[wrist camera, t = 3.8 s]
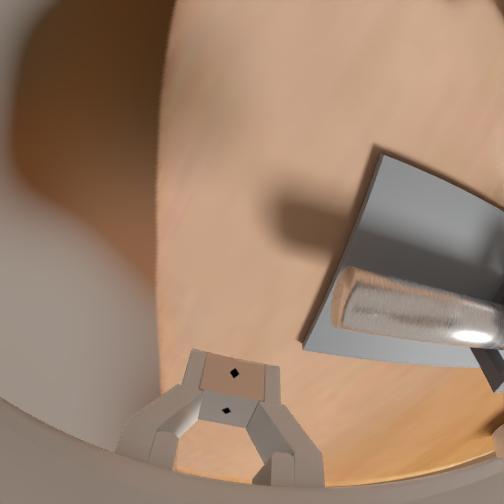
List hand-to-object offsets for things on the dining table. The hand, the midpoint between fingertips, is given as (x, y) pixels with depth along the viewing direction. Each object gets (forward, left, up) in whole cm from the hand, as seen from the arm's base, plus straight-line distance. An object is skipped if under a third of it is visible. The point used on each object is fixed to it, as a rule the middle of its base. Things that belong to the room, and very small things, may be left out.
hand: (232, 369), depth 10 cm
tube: (0, +15, -7) cm, 17 cm away
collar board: (0, +21, -9) cm, 23 cm away
